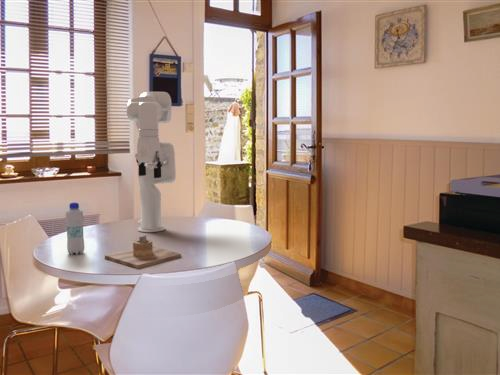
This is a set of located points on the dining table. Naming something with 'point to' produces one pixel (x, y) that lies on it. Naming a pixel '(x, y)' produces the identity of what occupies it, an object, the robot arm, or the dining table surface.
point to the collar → (142, 248)
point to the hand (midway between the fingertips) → (149, 176)
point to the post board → (140, 262)
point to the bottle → (74, 229)
